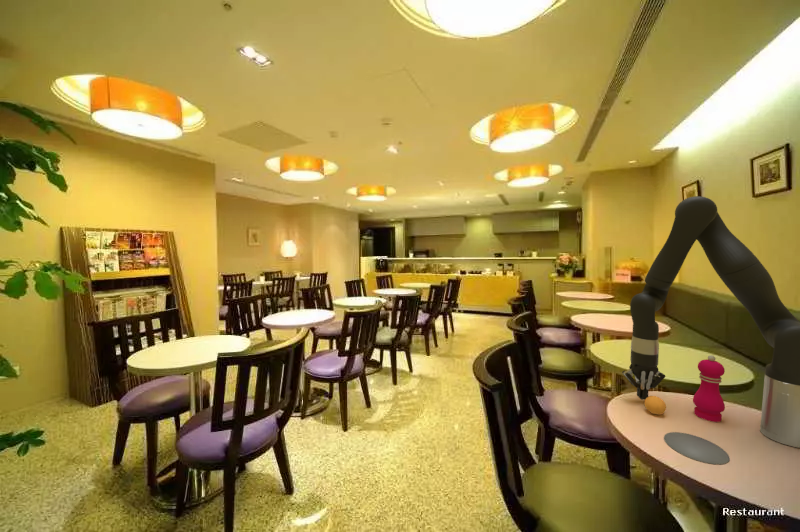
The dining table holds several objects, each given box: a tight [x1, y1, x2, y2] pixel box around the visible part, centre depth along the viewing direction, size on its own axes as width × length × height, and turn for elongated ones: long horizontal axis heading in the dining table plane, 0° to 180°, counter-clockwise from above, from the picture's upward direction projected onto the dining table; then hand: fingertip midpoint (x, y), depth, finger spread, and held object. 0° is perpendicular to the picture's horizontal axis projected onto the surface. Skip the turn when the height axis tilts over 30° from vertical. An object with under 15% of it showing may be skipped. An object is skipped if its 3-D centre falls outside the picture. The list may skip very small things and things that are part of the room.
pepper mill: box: [692, 354, 726, 423], centre depth 99 cm, size 7×7×20 cm
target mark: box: [663, 431, 730, 465], centre depth 86 cm, size 13×13×1 cm
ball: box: [643, 395, 667, 415], centre depth 102 cm, size 6×6×6 cm
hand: (642, 398), depth 109 cm, fingers closed
